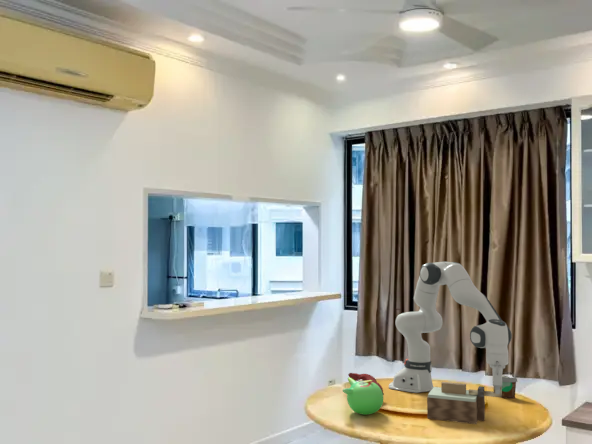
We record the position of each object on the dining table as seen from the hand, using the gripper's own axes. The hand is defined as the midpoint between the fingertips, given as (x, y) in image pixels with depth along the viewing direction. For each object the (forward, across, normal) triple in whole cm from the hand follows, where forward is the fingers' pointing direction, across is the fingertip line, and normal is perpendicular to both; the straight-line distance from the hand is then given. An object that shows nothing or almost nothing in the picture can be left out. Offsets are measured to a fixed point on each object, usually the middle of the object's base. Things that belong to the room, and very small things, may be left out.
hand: (497, 392), depth 251 cm
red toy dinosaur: (+12, +24, +59) cm, 65 cm away
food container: (+12, +42, -2) cm, 44 cm away
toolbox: (+12, +1, +17) cm, 21 cm away
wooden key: (+2, 0, +5) cm, 5 cm away
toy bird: (+12, -6, +55) cm, 57 cm away
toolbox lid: (+4, +1, +18) cm, 18 cm away
